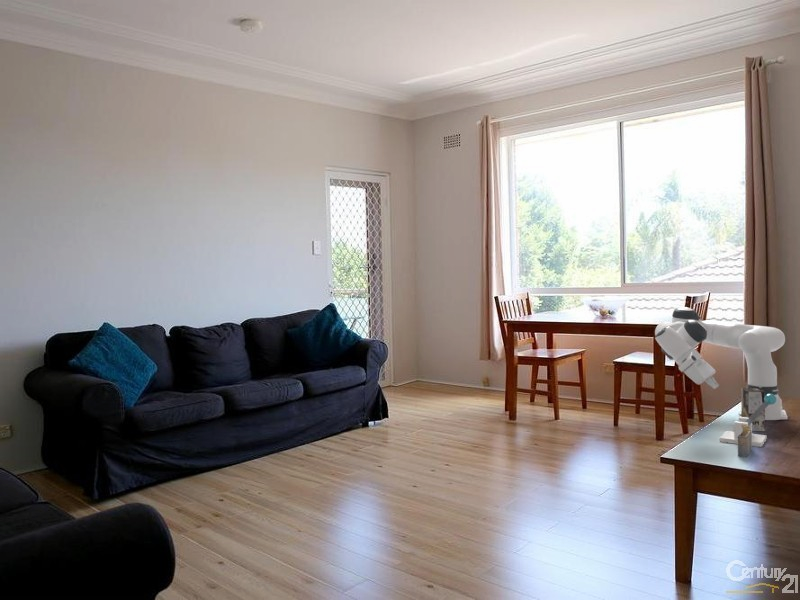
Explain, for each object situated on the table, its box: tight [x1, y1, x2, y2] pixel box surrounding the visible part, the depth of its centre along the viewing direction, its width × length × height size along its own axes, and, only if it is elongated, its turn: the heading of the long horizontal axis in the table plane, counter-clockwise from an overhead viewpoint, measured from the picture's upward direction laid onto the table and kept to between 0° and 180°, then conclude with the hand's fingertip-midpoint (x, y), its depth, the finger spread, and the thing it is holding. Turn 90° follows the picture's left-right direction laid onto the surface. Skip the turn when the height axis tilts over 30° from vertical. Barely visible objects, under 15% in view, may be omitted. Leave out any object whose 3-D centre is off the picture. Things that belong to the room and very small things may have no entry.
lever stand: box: [719, 416, 768, 448], centre depth 246 cm, size 12×14×8 cm
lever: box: [745, 394, 777, 427], centre depth 243 cm, size 6×4×18 cm
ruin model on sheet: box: [737, 424, 753, 458], centre depth 231 cm, size 11×3×10 cm, turn 143°
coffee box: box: [740, 387, 766, 432], centre depth 262 cm, size 9×6×16 cm
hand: (717, 387), depth 250 cm, fingers closed
